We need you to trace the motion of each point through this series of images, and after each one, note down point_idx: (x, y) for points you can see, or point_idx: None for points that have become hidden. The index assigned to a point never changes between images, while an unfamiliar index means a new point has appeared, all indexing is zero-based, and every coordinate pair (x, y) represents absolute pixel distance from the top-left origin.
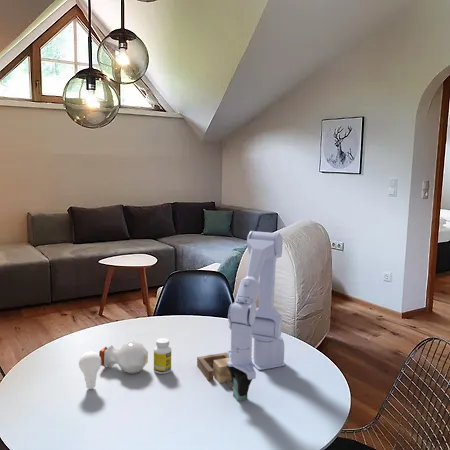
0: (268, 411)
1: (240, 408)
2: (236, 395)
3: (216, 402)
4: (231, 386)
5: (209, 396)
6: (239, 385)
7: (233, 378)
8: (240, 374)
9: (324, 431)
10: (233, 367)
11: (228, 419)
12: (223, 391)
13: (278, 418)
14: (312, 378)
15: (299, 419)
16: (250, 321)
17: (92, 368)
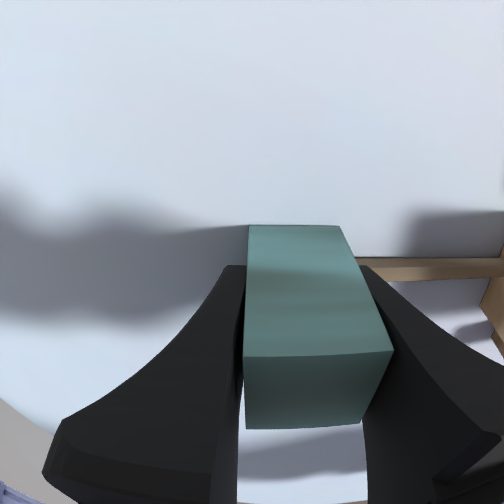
0: (92, 335)
1: (142, 207)
2: (271, 245)
3: (299, 50)
4: (437, 264)
5: (414, 46)
6: (173, 341)
7: (388, 339)
8: (93, 501)
9: (3, 391)
10: (445, 471)
11: (36, 81)
12: (430, 186)
13: (41, 339)
14: (293, 485)
15: (45, 385)
16: None
17: None
